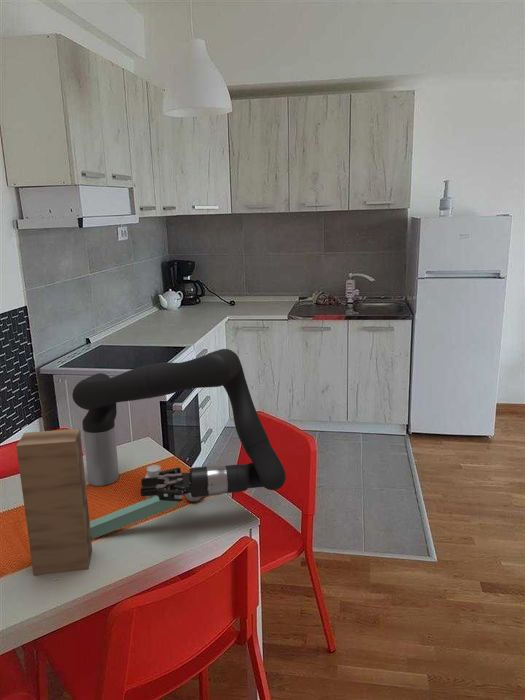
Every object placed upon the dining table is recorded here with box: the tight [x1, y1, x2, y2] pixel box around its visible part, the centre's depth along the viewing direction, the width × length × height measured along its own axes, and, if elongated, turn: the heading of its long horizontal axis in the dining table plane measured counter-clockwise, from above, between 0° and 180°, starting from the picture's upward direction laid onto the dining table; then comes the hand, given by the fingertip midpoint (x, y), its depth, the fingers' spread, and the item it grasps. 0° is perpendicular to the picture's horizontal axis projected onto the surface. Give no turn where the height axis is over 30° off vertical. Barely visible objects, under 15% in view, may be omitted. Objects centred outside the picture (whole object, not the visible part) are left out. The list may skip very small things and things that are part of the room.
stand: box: [16, 428, 93, 576], centre depth 121 cm, size 7×12×32 cm, turn 100°
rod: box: [89, 495, 180, 540], centre depth 136 cm, size 3×23×3 cm, turn 101°
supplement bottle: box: [144, 464, 165, 500], centre depth 151 cm, size 5×5×10 cm
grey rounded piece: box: [184, 493, 203, 502], centre depth 151 cm, size 5×7×8 cm
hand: (141, 487), depth 134 cm, fingers open, 4 cm apart
